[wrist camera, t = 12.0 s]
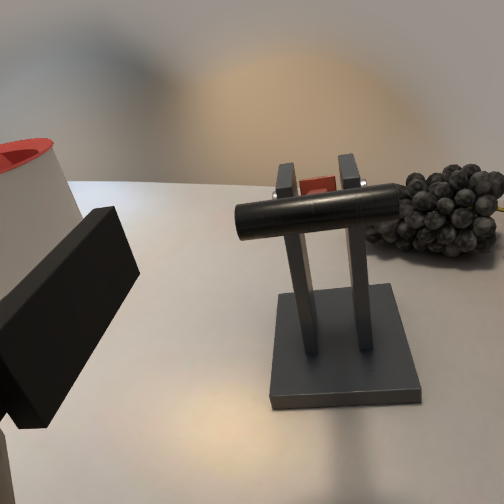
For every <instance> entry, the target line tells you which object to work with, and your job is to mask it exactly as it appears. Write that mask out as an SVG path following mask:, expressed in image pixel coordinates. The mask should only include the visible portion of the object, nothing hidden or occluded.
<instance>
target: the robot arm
mask: <svg viewBox="0 0 504 504" xmlns="http://www.w3.org/2000/svg"><path fill="white" fill-rule="evenodd" d="M139 275H140V272H139V269H138V267H137V264H136V262H135V259H134V256H133V254H132V251H131V249H130V246H129V243H128V241H127V238H126V236H125V233H124V230H123V228H122V225H121V222H120V220H119V217H118V215H117V212H116V209H115V207H114V206H110V207H103V208H96V209H93V210H92V211H91V212H90V213H89V214H88V215H87V216H86V217H85V218H84V219H83V220H82V221H81V222H80V223H79V224H78V225H77V226H76V227H75V228H74V229H73V230H72V231H71V232H70V233H69V234H68V235H67V236H66V237H65V238H64V239H63V240H62V241H61V242H60V243H59V244H58V245H57V246H56V247H55V248H54V249H53V250H52V251H51V252H50V253H49V254H48V255H47V256H46V257H45V258H44V259H43V260H42V261H41V262H40V263H39V264H38V265H37V266H36V267H35V268H34V269H33V270H32V271H31V272H30V273H29V274H28V275H27V276H26V277H25V278H24V279H23V280H22V281H21V282H20V283H19V284H18V285H17V286H16V287H15V288H14V289H13V290H12V291H11V292H10V293H9V294H8V295H6V296H5V297H3V298H2V299H1V300H0V421H1V420H2V418H3V417H4V416H5V414H6V413H8V414H9V416H10V417H11V419H12V420H13V422H14V423H15V424H16V426H17V427H18V429H37V428H47V427H48V425H49V424H50V422H51V420H52V419H53V417H54V416H55V414H56V412H57V411H58V409H59V407H60V406H61V404H62V402H63V401H64V399H65V397H66V396H67V394H68V392H69V391H70V389H71V387H72V386H73V384H74V382H75V381H76V379H77V377H78V376H79V374H80V372H81V371H82V369H83V367H84V366H85V364H86V362H87V361H88V359H89V358H90V356H91V354H92V353H93V351H94V349H95V348H96V346H97V344H98V343H99V341H100V339H101V338H102V336H103V334H104V333H105V331H106V329H107V328H108V326H109V324H110V323H111V321H112V319H113V318H114V316H115V314H116V313H117V311H118V309H119V308H120V306H121V304H122V303H123V301H124V300H125V298H126V296H127V295H128V293H129V291H130V290H131V288H132V286H133V285H134V283H135V281H136V280H137V278H138V276H139ZM0 504H15V498H14V492H13V485H12V479H11V472H10V466H9V459H8V453H7V446H6V440H5V435H4V434H3V432H2V430H1V429H0Z"/></svg>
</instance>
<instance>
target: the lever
mask: <svg viewBox="0 0 504 504" xmlns="http://www.w3.org/2000/svg"><path fill="white" fill-rule="evenodd" d="M299 182H300V191H301V196H295V197H288V198H281V199H274V200H267V201H259V202H252V203H245V204H238V205H236V207H235V225H236V230H237V234H238V237H239V239H240V240H241V241H245V240H253V239H261V238H269V237H277V236H285V235H294V234H302V233H310V232H318V231H326V230H334V229H342V228H350V227H358V226H367V225H375V224H383V223H391V222H398V221H399V219H400V203H399V195H398V190H397V187H396V184H395V183H388V184H381V185H374V186H367V187H359V188H352V189H345V190H338V191H337V190H336V181H335V176H334V175H330V176H323V177H316V178H309V179H303V180H300V181H299Z"/></svg>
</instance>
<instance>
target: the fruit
mask: <svg viewBox="0 0 504 504" xmlns="http://www.w3.org/2000/svg"><path fill="white" fill-rule="evenodd" d="M396 187H397V190H398V195H399V203H400V219H399V221H398V222H391V223H383V224H375V225H367V226H364V232H365V239H366V240H367V241H368V242H370V243H372V244H373V243H377V242H379V240H380V239H382V240H383V241H384V242H387V243H393V242H395V241H396V240H397V241H396V245H397V247H398V248H399V249H400V250H403V251H407V250H409V249H410V248H411V247H412V245H413V246H414V247H415V248H416V249H417V250H425V249H426V248H427V247H428V248H429V249H430V250H431V251H433V252H442V251H443V253H444V254H445V255H446V256H449V257H456V256H458V255H459V254H460V253H461V252H462V251H463V252H467V251H471V250H474V252H476V253H481V254H484V253H487V252H490V251H491V249H492V247H493V245H494V244H495V240H496V233H495V230H496V223H495V221H494V219H493V218H491V217H490V216H491V215H492V214H493V213H494V212H495V211H500V212H504V208H501V207H498V201H497V199H499V198H500V197H501V196H502V195H503V194H504V175H502V174H501V173H499V172H495V171H493V172H490V173H488V172H486V171H482V172H481V169H480V167H479V166H477V165H475V164H468V165H465V166H464V167H463V168H461V167H460V166H458V165H449V166H447V167H446V168H444V170H443V172H442V174H441V173H434V174H432V175H430V176H429V177H428V179H427V180H425V178H424V176H423V175H421V174H420V173H412V174H410V175H409V176H408V178H407V180H406V186H403V185H399V184H396ZM435 209H436V210H435ZM433 211H434V212H433Z"/></svg>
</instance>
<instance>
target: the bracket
mask: <svg viewBox="0 0 504 504" xmlns="http://www.w3.org/2000/svg"><path fill="white" fill-rule="evenodd" d="M338 160H339V171H340V180H341V190H345V189H352V188H359V187H367V182H366V179H360V175H359V171H358V168H357V165H356V162H355V158H354V155H353V154H345V155H339V156H338ZM275 190H276V191H274V192H273V194H272V197H273V200H274V199H281V198H288V197H295V196H298V189H297V183H296V177H295V171H294V164H293V163H287V164H280V165H279V169H278V176H277V182H276V189H275ZM345 230H346V240H347V250H348V260H349V269H350V279H351V287H345V288H335V289H324V290H314V291H313V286H312V280H311V273H310V267H309V260H308V254H307V248H306V241H305V235H304V233H302V234H294V235H285V236H284V240H285V245H286V251H287V256H288V262H289V267H290V273H291V278H292V284H293V289H294V293H283V294H279V295H278V305H277V316H276V327H275V338H274V350H273V361H272V372H271V383H270V394H269V398H270V402H271V406H272V409H286V408H307V407H328V406H350V405H371V404H393V403H414V402H421V401H422V396H421V386H420V382H419V379H418V375H417V372H416V369H415V365H414V362H413V359H412V355H411V352H410V348H409V345H408V342H407V338H406V335H405V332H404V328H403V325H402V321H401V318H400V315H399V311H398V308H397V305H396V301H395V298H394V294H393V291H392V288H391V284H390V283H386V284H376V285H369V284H368V271H367V258H366V245H365V232H364V226H358V227H350V228H345Z"/></svg>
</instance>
